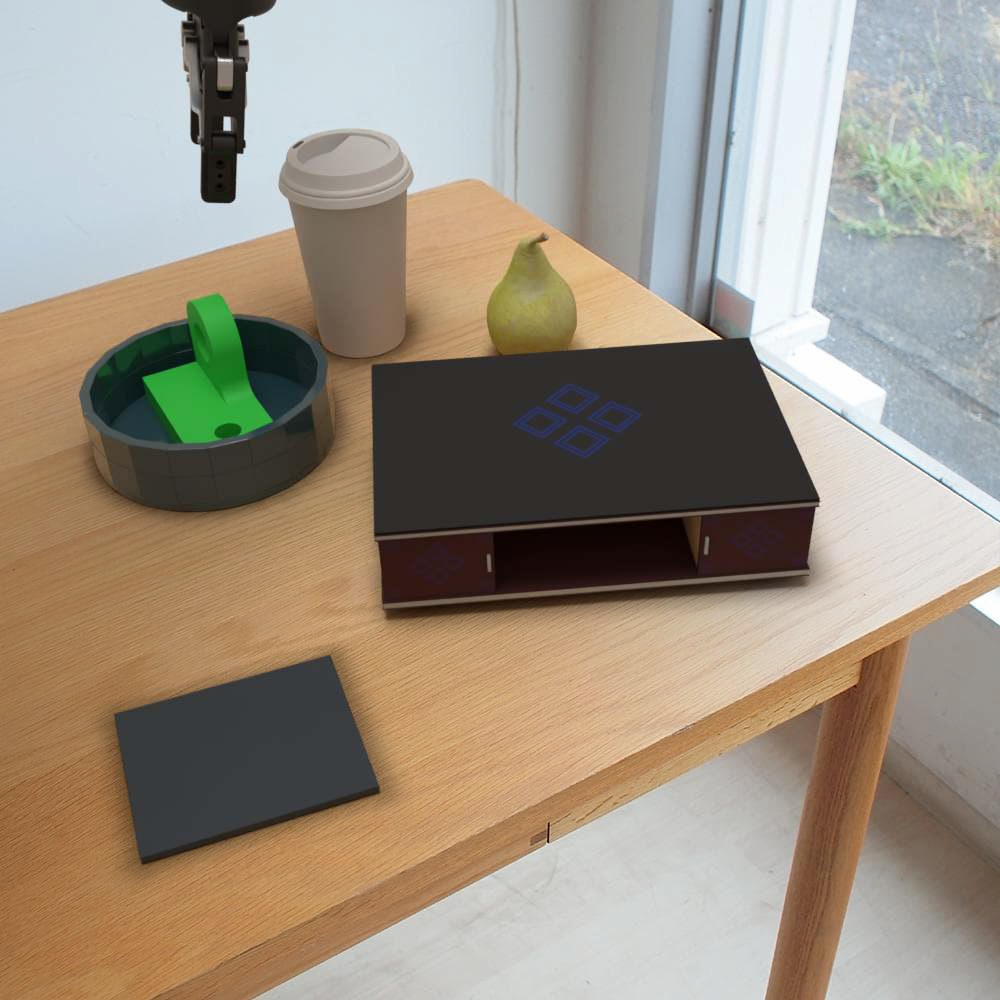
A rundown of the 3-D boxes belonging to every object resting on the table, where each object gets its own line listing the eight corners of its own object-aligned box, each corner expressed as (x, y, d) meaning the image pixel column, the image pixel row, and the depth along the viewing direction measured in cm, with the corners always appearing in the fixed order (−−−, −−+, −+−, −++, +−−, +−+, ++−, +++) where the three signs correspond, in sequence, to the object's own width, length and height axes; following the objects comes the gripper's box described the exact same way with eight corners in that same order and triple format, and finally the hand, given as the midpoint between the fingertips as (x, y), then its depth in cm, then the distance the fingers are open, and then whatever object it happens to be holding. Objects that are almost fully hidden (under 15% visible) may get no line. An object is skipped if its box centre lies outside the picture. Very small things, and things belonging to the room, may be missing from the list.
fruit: (561, 325, 102) (561, 180, 94) (593, 376, 96) (595, 226, 89) (477, 339, 101) (470, 194, 93) (504, 392, 95) (499, 241, 87)
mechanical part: (147, 400, 94) (124, 303, 89) (227, 376, 97) (208, 279, 92) (202, 489, 86) (180, 387, 81) (288, 461, 88) (272, 359, 83)
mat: (142, 864, 64) (140, 858, 64) (115, 719, 71) (113, 713, 71) (380, 792, 67) (379, 785, 67) (331, 660, 74) (330, 654, 74)
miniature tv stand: (807, 586, 78) (821, 498, 74) (384, 621, 77) (373, 533, 73) (740, 418, 92) (749, 336, 87) (379, 446, 90) (370, 363, 86)
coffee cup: (368, 291, 107) (350, 112, 98) (450, 332, 102) (439, 147, 92) (275, 338, 102) (246, 154, 92) (357, 384, 96) (335, 194, 87)
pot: (112, 536, 84) (95, 474, 80) (84, 401, 96) (67, 342, 93) (362, 476, 88) (355, 414, 85) (304, 353, 100) (296, 295, 97)
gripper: (146, -120, 83) (148, 123, 93) (159, -45, 73) (161, 220, 83) (266, -110, 85) (256, 128, 95) (295, -35, 75) (281, 223, 85)
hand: (212, 170), depth 89 cm, fingers open, 8 cm apart
